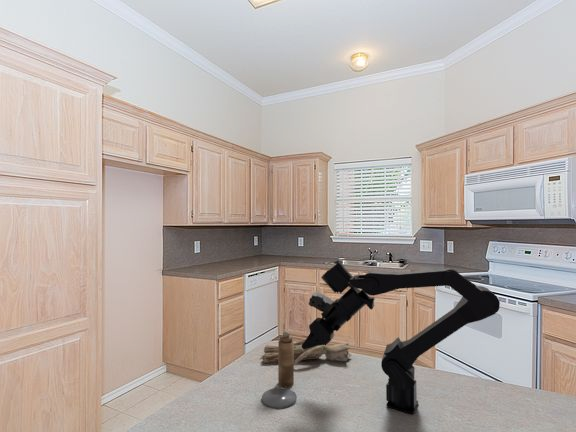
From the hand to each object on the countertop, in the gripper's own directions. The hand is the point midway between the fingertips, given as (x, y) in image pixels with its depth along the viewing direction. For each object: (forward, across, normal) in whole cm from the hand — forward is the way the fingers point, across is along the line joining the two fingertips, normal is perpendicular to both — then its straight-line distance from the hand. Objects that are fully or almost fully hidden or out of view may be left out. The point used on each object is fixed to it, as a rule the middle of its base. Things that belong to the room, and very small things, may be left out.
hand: (307, 342), depth 92 cm
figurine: (+14, -20, +5) cm, 24 cm away
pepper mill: (+14, 0, +4) cm, 14 cm away
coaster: (+12, +8, +5) cm, 16 cm away
